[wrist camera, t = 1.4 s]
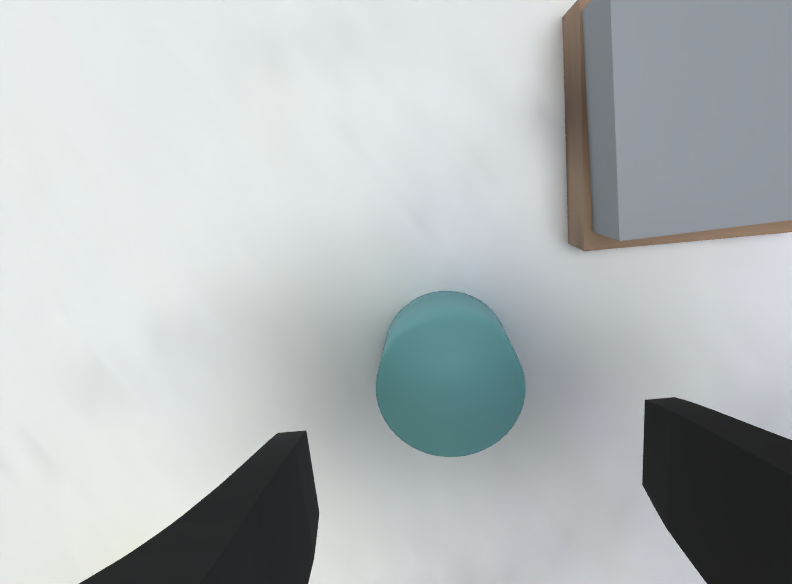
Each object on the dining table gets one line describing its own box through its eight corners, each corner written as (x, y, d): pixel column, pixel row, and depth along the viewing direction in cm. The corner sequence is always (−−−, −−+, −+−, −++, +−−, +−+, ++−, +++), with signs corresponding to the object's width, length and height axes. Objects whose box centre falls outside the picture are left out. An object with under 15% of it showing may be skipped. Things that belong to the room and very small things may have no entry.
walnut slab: (777, 221, 19) (828, 228, 17) (565, 241, 20) (584, 251, 17) (793, -9, 17) (852, -38, 15) (558, 21, 18) (579, -3, 16)
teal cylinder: (509, 400, 21) (528, 452, 17) (392, 408, 22) (384, 460, 18) (503, 285, 20) (521, 313, 16) (379, 296, 20) (368, 325, 17)
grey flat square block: (808, 204, 17) (874, 209, 14) (592, 231, 17) (619, 240, 15) (818, -29, 15) (893, -68, 13) (581, 10, 16) (609, -20, 13)
